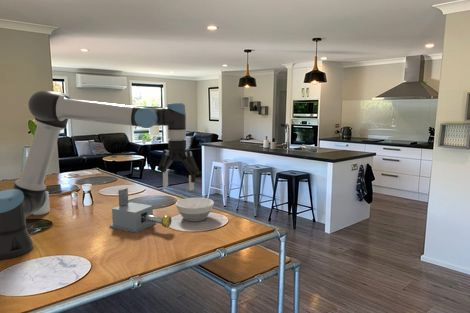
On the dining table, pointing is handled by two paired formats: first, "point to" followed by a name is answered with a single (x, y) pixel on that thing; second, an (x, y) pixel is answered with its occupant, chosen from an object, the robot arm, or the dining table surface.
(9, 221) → the robot arm
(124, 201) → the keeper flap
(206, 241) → the dining table surface
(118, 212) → the block
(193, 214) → the bowl
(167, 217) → the pin
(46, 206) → the mug
